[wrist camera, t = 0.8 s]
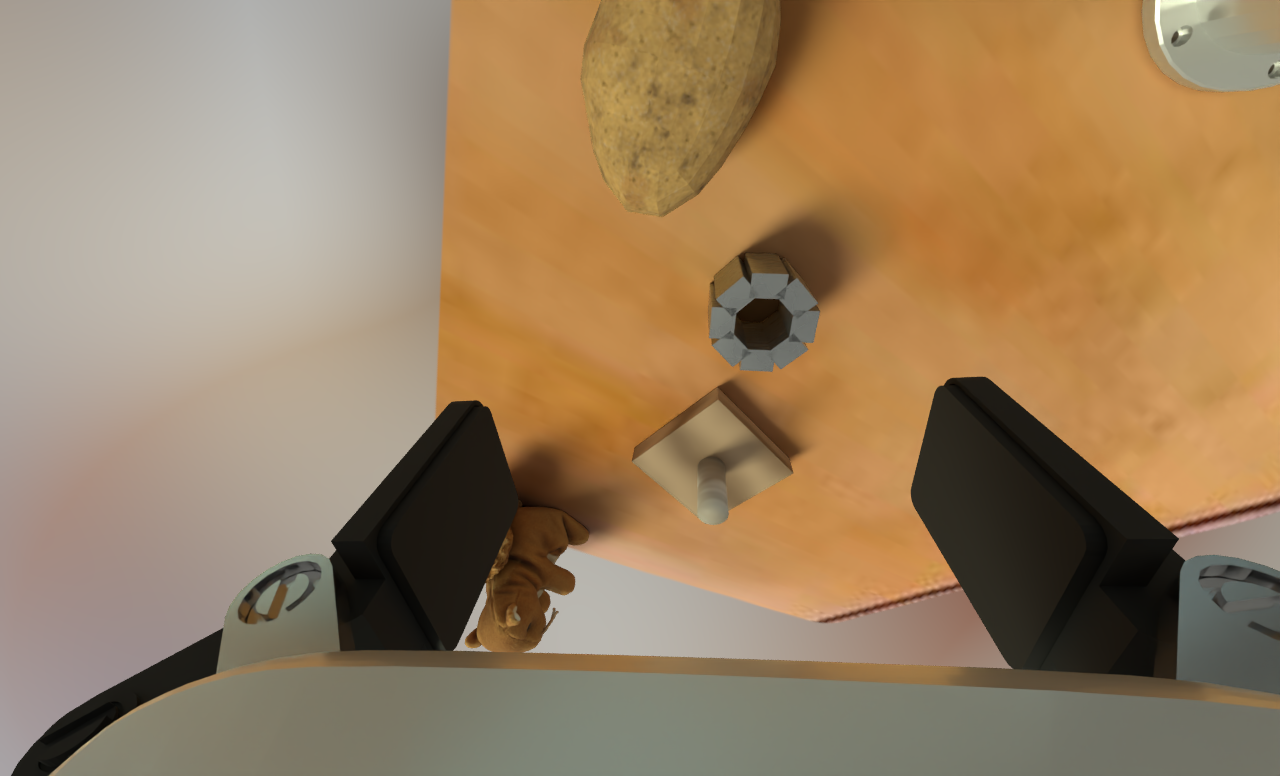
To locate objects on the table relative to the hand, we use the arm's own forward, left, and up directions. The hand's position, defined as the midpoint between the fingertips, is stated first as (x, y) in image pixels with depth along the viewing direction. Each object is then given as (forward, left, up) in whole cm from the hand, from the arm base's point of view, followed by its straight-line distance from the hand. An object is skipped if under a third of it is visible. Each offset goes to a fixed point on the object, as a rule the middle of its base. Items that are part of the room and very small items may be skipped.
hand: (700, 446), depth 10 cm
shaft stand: (+13, +16, -25) cm, 33 cm away
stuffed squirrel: (+34, +10, -26) cm, 43 cm away
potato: (-4, -7, -26) cm, 27 cm away
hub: (+1, +7, -25) cm, 26 cm away
